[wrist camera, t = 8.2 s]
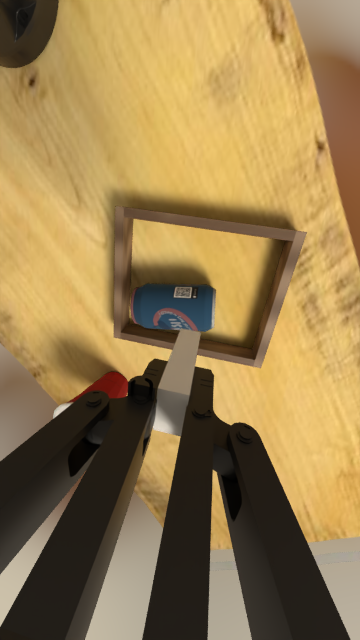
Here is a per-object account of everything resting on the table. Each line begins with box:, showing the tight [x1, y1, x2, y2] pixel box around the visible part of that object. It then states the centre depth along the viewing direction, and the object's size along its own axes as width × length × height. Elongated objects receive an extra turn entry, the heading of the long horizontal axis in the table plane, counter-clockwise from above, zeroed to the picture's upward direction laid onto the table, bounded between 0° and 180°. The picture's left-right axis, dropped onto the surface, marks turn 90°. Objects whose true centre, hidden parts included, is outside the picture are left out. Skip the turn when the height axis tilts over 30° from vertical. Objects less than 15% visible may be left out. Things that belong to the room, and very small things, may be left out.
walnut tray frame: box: [114, 206, 307, 368], centre depth 33 cm, size 20×25×4 cm
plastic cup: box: [53, 372, 128, 419], centre depth 39 cm, size 11×11×12 cm
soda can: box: [130, 284, 216, 332], centre depth 33 cm, size 7×7×12 cm
